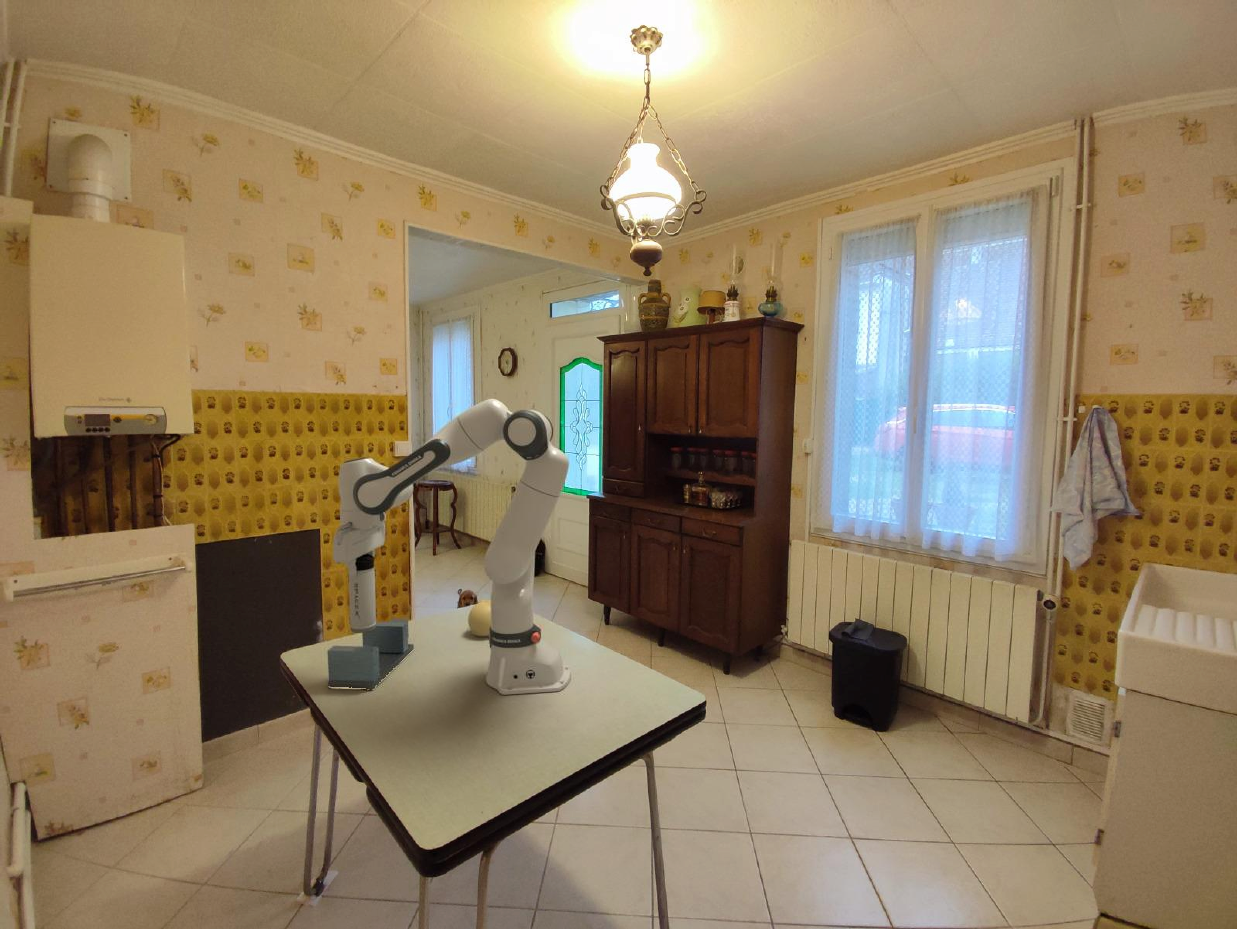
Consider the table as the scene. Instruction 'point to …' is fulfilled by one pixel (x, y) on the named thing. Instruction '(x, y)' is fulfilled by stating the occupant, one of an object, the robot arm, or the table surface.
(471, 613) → the sculpture
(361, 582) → the travel mug
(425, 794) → the table surface
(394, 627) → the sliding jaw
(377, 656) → the vise
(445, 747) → the table surface
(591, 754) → the table surface
